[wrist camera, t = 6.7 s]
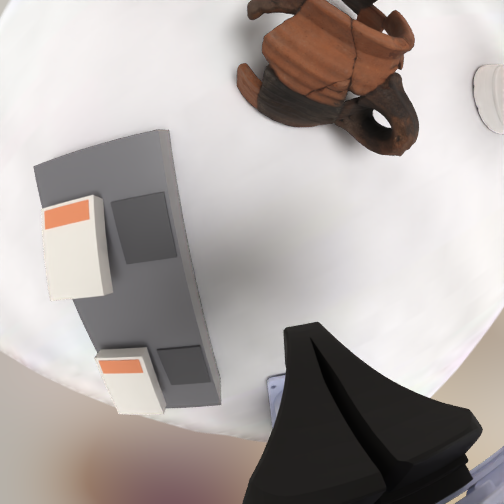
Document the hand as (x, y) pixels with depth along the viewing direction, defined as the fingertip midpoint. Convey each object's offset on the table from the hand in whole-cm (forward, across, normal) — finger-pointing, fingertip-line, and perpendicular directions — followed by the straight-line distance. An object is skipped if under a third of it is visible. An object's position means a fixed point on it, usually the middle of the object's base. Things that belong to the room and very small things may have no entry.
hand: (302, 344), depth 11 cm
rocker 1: (+5, +10, -4) cm, 12 cm away
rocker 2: (+5, +10, +6) cm, 13 cm away
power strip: (+9, +9, +2) cm, 13 cm away
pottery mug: (+10, -4, -12) cm, 16 cm away
